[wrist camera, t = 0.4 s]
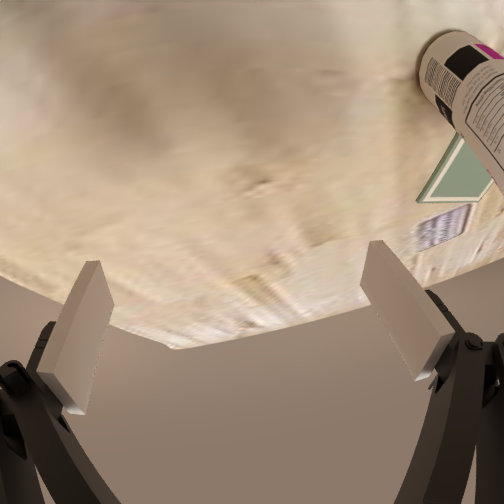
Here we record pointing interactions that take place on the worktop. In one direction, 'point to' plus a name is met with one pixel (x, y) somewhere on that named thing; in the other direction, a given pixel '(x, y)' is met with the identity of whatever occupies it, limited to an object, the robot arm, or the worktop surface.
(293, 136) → the worktop surface
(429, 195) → the mat
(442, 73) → the supplement can
